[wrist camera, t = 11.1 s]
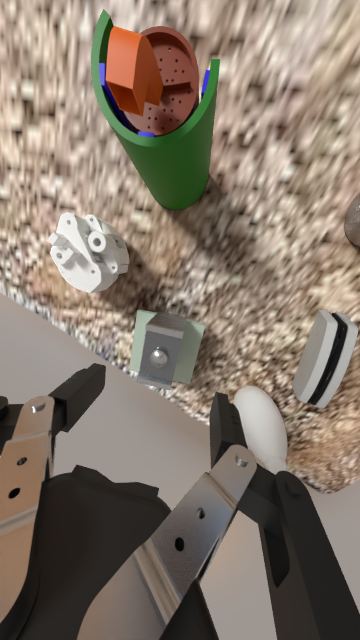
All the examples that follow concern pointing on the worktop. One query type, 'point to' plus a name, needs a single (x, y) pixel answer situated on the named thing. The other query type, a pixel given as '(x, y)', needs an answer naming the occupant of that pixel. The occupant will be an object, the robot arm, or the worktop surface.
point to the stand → (187, 348)
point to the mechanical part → (88, 252)
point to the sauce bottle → (262, 427)
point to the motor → (157, 107)
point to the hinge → (325, 358)
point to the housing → (161, 349)
